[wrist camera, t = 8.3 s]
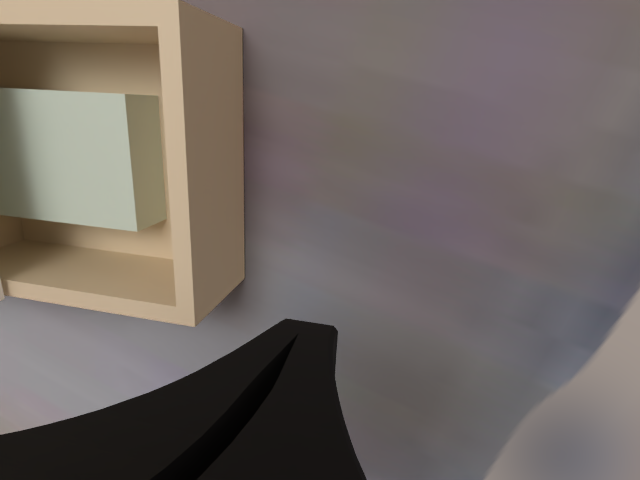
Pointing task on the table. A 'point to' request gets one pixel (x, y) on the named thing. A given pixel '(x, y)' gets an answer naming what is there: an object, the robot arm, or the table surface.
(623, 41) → the table surface
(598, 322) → the table surface
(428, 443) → the table surface
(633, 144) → the table surface
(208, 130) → the mailer box
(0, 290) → the lid
